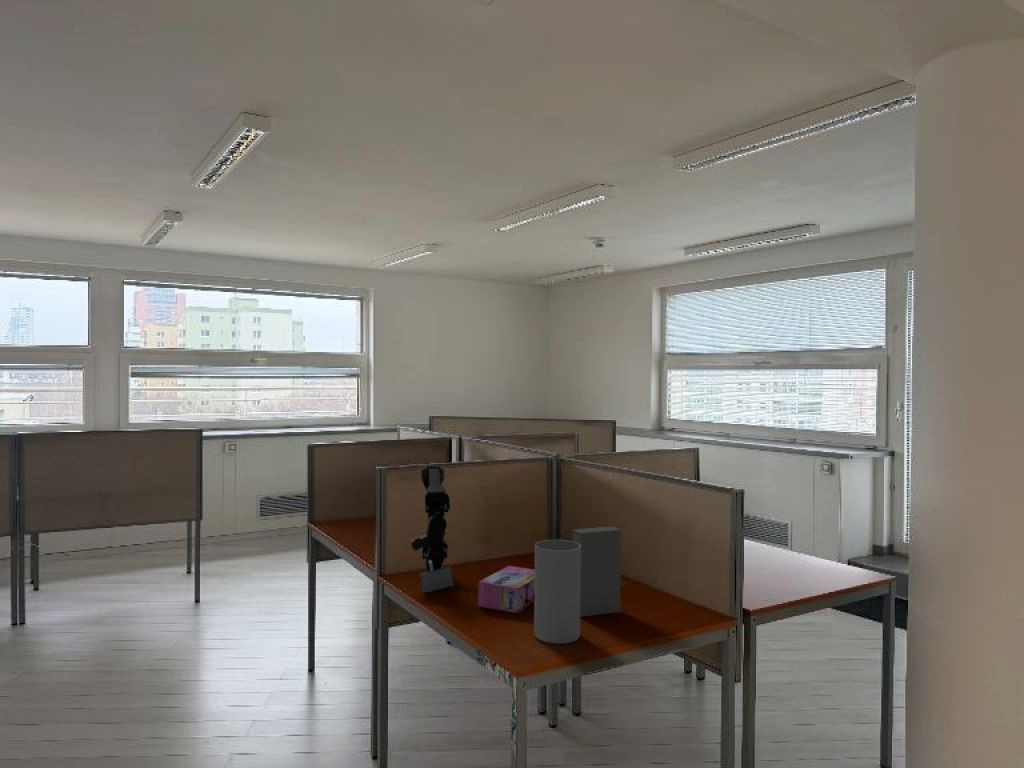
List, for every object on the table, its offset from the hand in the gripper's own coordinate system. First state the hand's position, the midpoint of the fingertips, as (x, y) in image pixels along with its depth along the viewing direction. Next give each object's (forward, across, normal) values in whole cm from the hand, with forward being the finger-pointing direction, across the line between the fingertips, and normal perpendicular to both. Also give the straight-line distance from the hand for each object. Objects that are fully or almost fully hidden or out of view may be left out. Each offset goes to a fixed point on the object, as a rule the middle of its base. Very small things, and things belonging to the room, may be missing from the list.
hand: (435, 573), depth 241 cm
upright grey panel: (+4, +34, +46) cm, 57 cm away
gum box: (0, +16, +17) cm, 24 cm away
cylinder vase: (+4, +52, +30) cm, 60 cm away
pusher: (+3, +3, +1) cm, 4 cm away
